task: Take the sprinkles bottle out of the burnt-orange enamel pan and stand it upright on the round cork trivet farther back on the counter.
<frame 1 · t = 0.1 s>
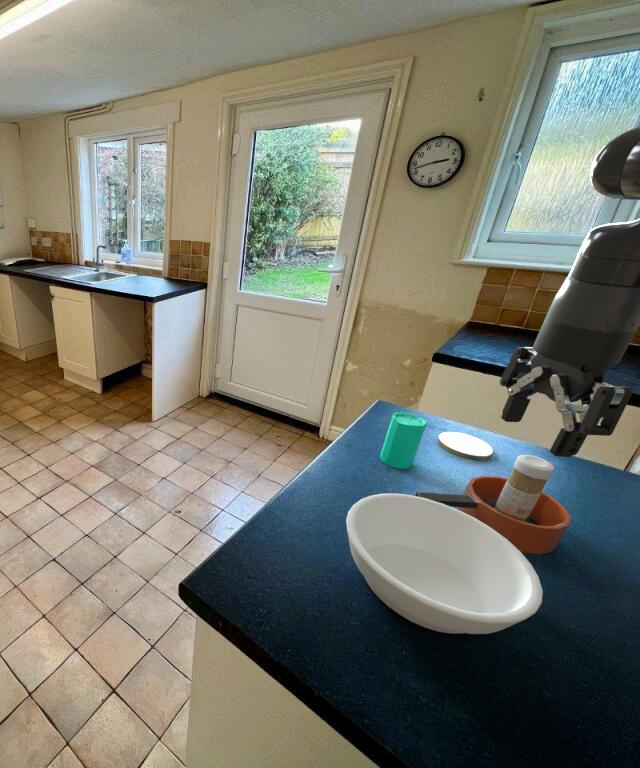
hand: (533, 436, 56), 24 cm above the worktop, tool pointing down, fingers open, 8 cm apart
candle: (395, 461, 90), on the worktop
bowl: (417, 588, 62), on the worktop
pan: (504, 524, 73), on the worktop
sprinkles bottle: (503, 524, 73), resting in pan
trivet: (463, 446, 95), on the worktop
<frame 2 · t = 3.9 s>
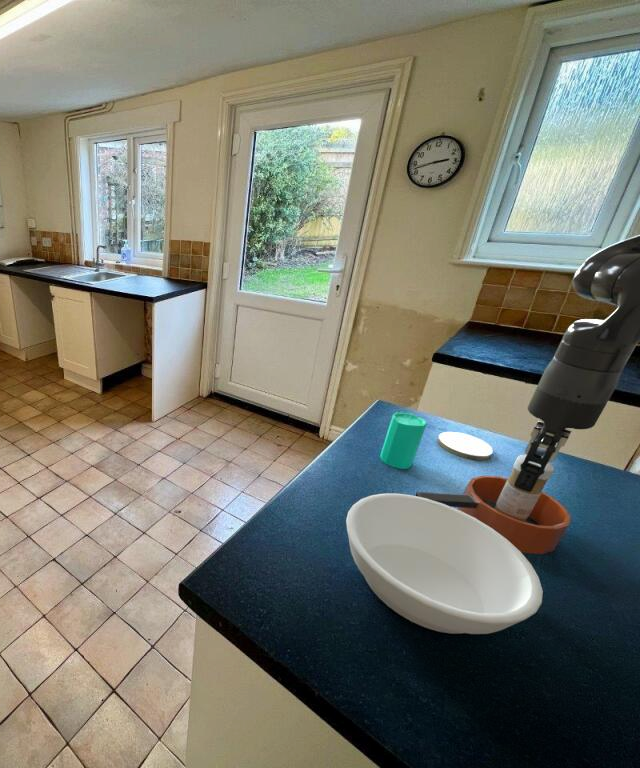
hand: (525, 481, 69), 9 cm above the worktop, tool pointing down, fingers closed on sprinkles bottle, 4 cm apart
sprinkles bottle: (503, 524, 73), resting in pan, touching gripper
everything else where it was.
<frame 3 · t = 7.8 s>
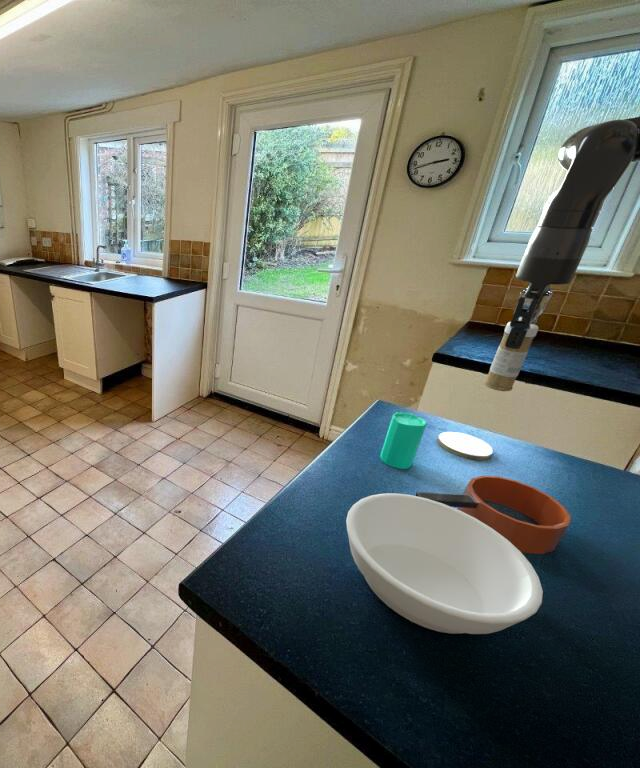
hand: (515, 344, 81), 26 cm above the worktop, tool pointing down, fingers closed on sprinkles bottle, 4 cm apart
sprinkles bottle: (496, 388, 85), point 17 cm above the worktop, touching gripper
everything else where it was.
when the fingers open (10 cm above the worktop, at t = 12.0 s): sprinkles bottle stays where it is, resting on trivet.
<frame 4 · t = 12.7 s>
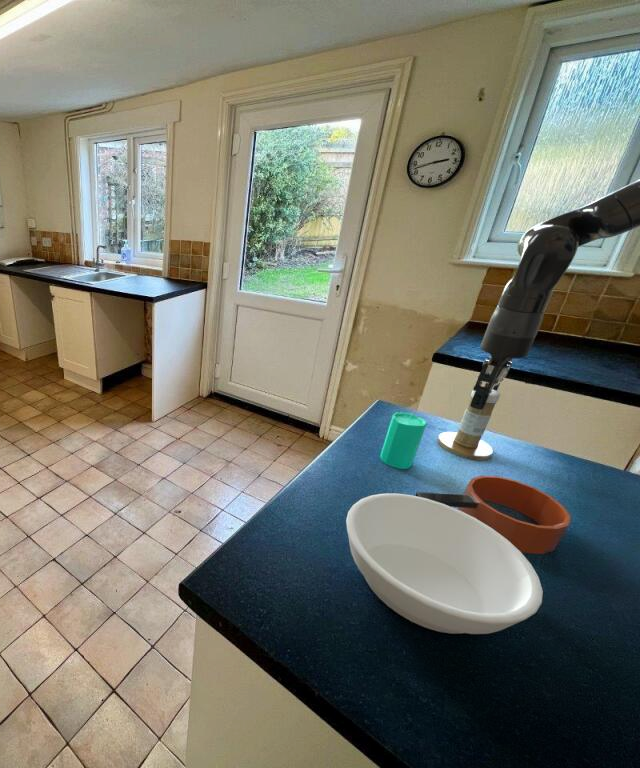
hand: (482, 402, 90), 12 cm above the worktop, tool pointing down, fingers open, 8 cm apart
sprinkles bottle: (465, 444, 94), point 1 cm above the worktop, touching trivet
everything else where it was.
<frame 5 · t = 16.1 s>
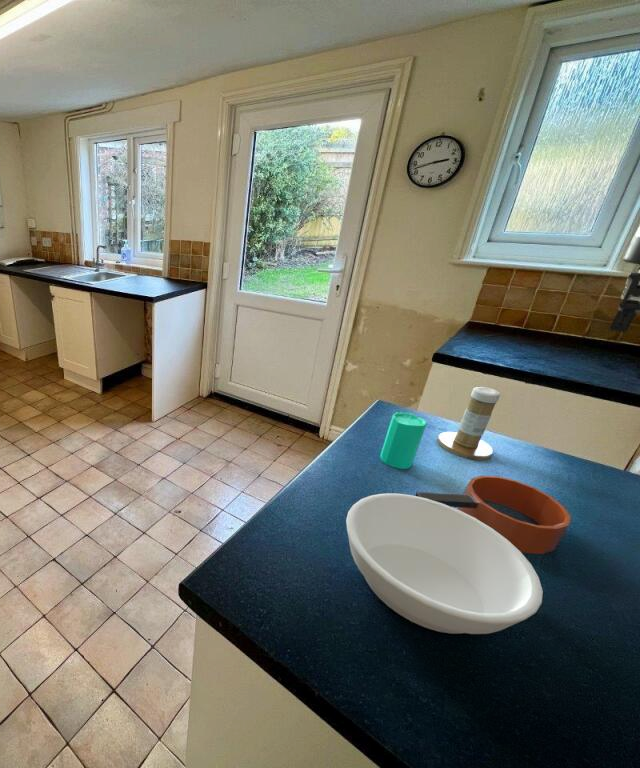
hand: (619, 326, 78), 30 cm above the worktop, tool pointing down, fingers open, 8 cm apart
nothing on the worktop moved.
at the end: sprinkles bottle inside the target area on the trivet (0.1 cm from its centre), point 0.8 cm above the trivet's base; sprinkles bottle tilted 0°; the gripper is holding nothing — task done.
